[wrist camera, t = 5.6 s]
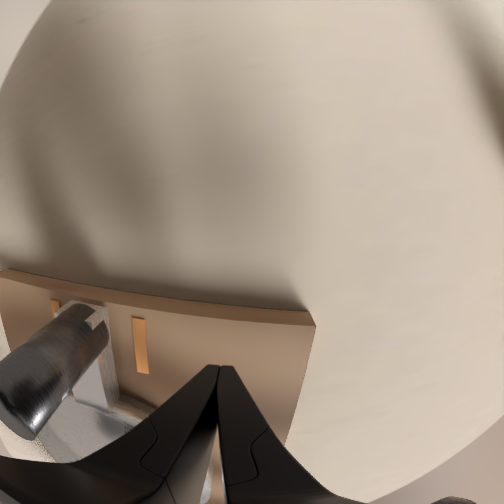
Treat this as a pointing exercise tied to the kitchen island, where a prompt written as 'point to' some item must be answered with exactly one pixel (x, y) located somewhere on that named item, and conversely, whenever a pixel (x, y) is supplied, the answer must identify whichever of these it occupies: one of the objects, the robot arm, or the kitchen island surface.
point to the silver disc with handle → (70, 388)
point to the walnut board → (177, 344)
